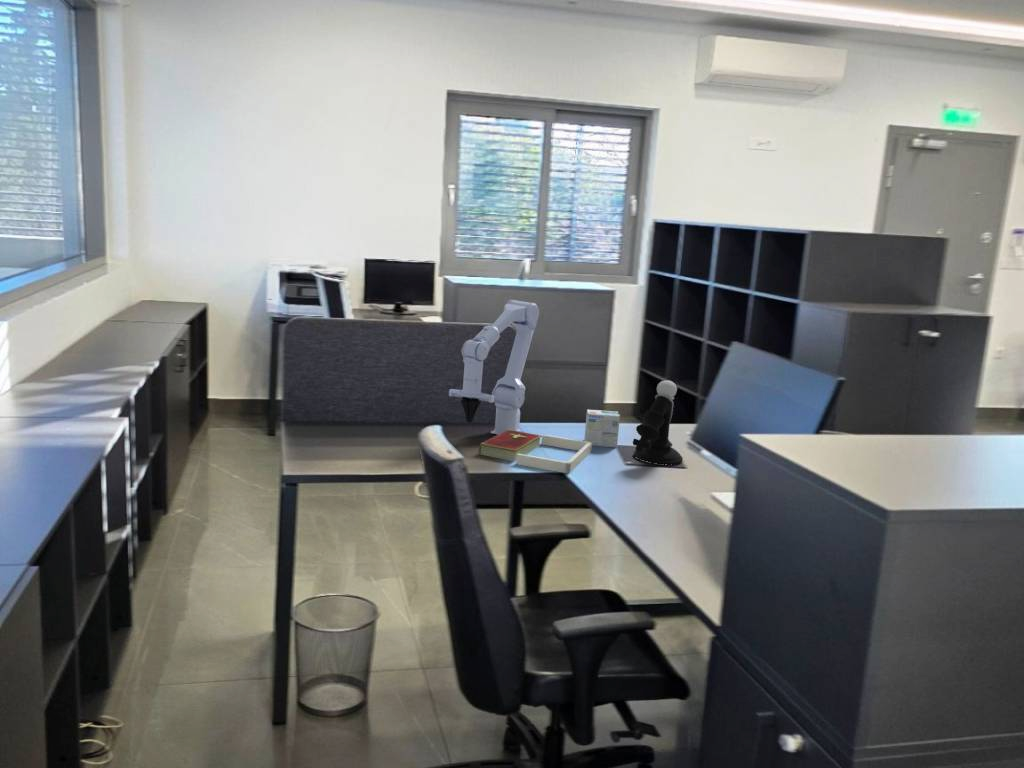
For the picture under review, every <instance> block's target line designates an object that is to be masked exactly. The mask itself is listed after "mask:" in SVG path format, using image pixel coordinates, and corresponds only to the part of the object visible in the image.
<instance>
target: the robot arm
mask: <svg viewBox="0 0 1024 768" xmlns="http://www.w3.org/2000/svg"><path fill="white" fill-rule="evenodd" d="M503 306H504V307H503V312H502V313H501V314H500V315H499V316H498V317H497V319H495V321H494V322H493V323H492V324H491V325H485V326H483V328H482V330H480V332H478V333H477V334H476V335H475V336H474V337H473V338H472V339H469V340H466V341H465V342H464V343H463V345H462V348H461V350H460V351H461V355H462V358H463V360H462V362H463V364H464V369H463V381H462V383H463V384H462V389H453V388H450V389H449V390H448V396H449V397H457V398H461V400H460V403H461V406H462V407H463V409H464V410H463V411H464V414H465V419H466V422H467V423H472V422H474V417H475V414H476V412H477V410H478V408H479V405H481V403H482V402H488V403H490V404H491V403H494V406H495V407H496V409H495V421H494V422H495V424H494V429H493V430H491V431H490V434H493V435H496V436H497V435H499V434H500V433H502V432H504V431H506V430H508V429H509V430H515V431H520V432H523V430H522V429H520V420H521V410H520V409H521V407H522V406H523V404H524V402H525V399H526V397H525V393H526V386H525V385H524V384H523V382H522V381H521V379H522V375H523V372H524V368H525V364H526V361H527V357H528V354H529V350H530V346H531V343H532V339H533V335H534V332H535V330H536V326H537V324H538V319H539V316H540V309H539V307H538V305H537V304H536V303H535V302H527V301H521V300H515V299H509V300H508V301H507V303H506V304H504V305H503ZM510 325H512V326H513V327H515V329H516V334H515V338H514V341H513V345H512V349H511V353H510V356H509V359H508V362H507V366H506V371H505V374H504V376H502V377H501V378H500V379H498V380H496V381H497V382H496V384H495V387H494V388H493V390H492V392H491V394H488V393H486V392H482V385H483V384H482V383H483V382H482V381H483V371H484V370H483V369H484V368H483V367H484V360H486V359H487V357H488V355H489V352H490V351H491V348H492V346H494V345H495V343H496V342H498V340H499V339H500V336H501V335H500V334H501V333H502V332H503V331H504V330H505V329H507V328H508V327H509V326H510Z"/></svg>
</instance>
